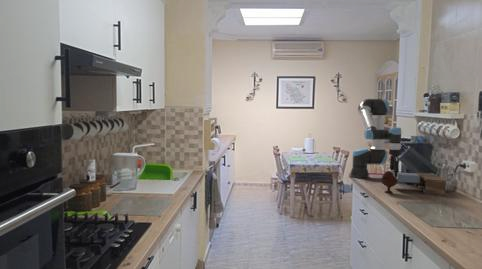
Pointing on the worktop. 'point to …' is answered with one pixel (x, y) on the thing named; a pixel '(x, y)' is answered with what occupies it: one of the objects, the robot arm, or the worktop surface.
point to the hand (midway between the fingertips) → (393, 180)
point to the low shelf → (431, 183)
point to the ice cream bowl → (389, 181)
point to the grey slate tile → (408, 177)
